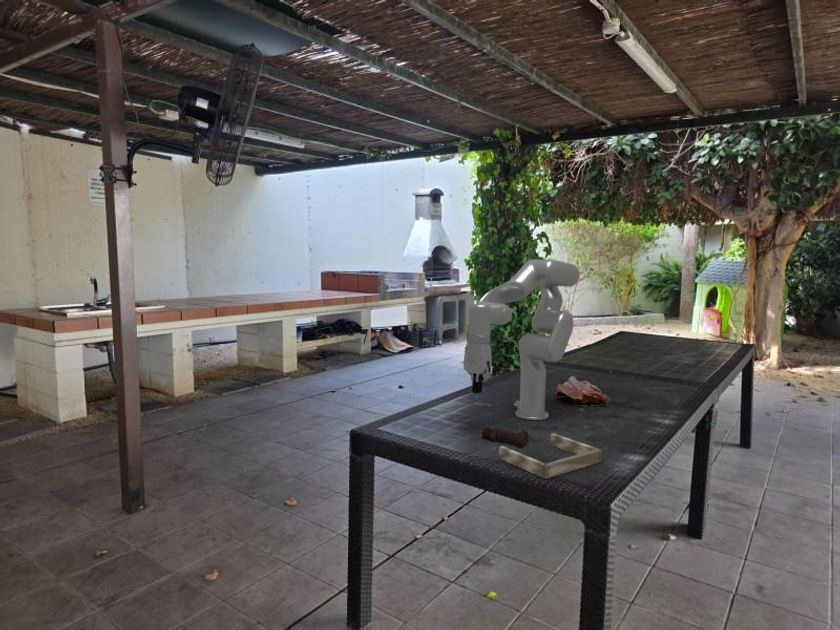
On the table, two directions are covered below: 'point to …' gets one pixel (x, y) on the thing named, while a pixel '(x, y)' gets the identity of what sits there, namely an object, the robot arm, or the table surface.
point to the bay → (582, 459)
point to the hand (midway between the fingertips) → (477, 392)
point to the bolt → (506, 436)
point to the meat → (581, 392)
